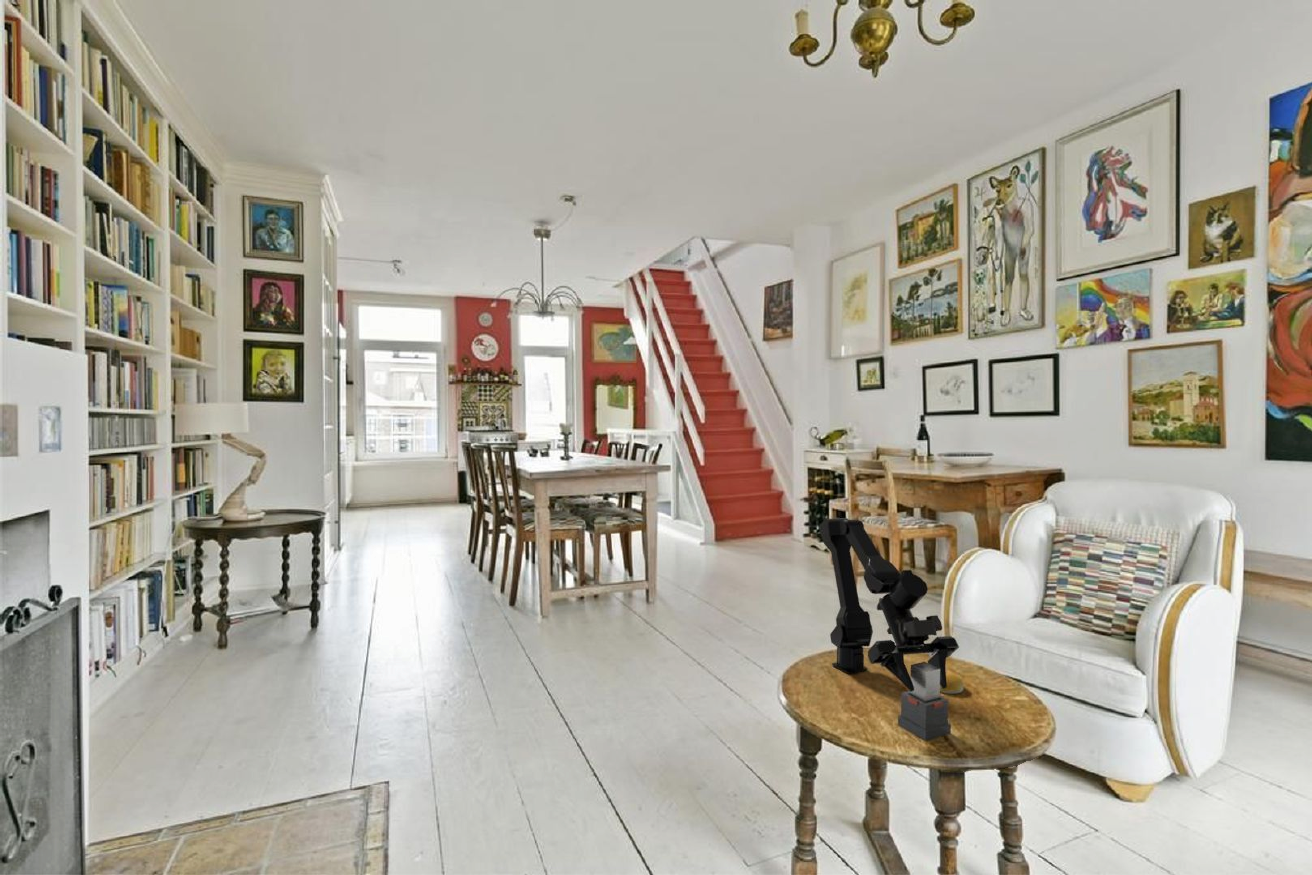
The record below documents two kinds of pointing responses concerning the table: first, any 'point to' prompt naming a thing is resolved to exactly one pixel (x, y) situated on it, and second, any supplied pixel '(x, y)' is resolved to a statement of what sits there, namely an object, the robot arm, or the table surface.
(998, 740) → the table surface
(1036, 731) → the table surface
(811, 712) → the table surface
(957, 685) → the bread roll
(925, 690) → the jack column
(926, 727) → the dark grey box
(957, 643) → the robot arm
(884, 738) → the table surface
